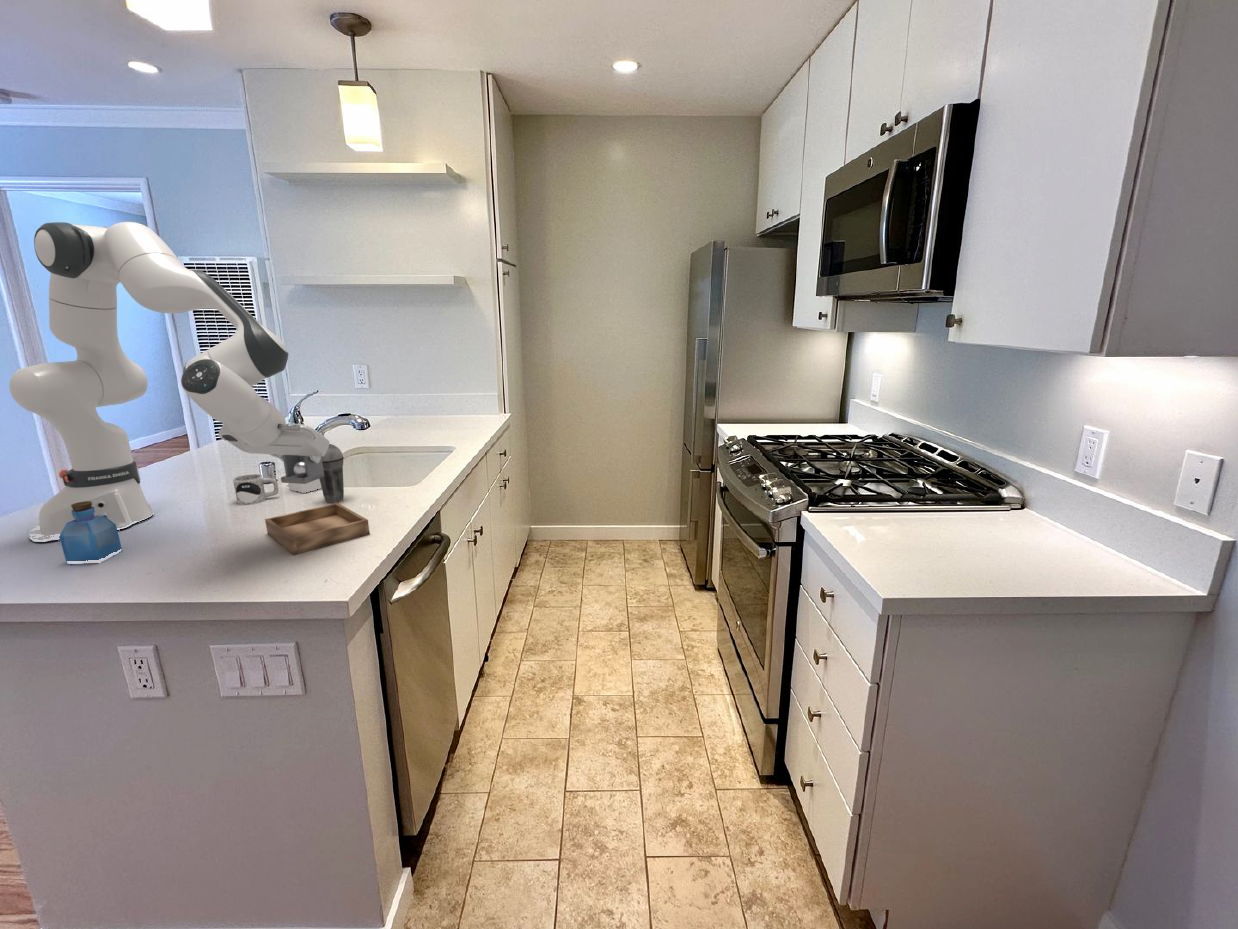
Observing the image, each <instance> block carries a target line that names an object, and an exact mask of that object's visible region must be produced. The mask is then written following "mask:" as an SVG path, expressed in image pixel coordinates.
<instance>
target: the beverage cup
mask: <svg viewBox="0 0 1238 929" xmlns="http://www.w3.org/2000/svg"><path fill="white" fill-rule="evenodd" d="M320 432H321V433H320V434H321V435H323V436H324V437H325V434H324V428H320ZM321 457H322V464H323V470H324V477H322V478H319V479H320V483H321V487H322V489H321V492H322V495H323V498H324V501H326V502H327V504H335V502H337V503H340V502H339V501H341V500H343V498H344V494H345V490H344V488H345V487H344V460H345V457H344V455H343V453H342V450H341V449H340V448H339V447H338V446H336V445H334V444H332V443H331V444H330V443H329V447H328V449H327V451H326V453H325V455H324V456H321ZM344 499H345V498H344ZM343 501H344V500H343ZM326 502H325V503H326ZM341 502H342V501H341Z"/></svg>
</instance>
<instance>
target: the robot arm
mask: <svg viewBox="0 0 1238 929" xmlns="http://www.w3.org/2000/svg"><path fill="white" fill-rule="evenodd" d="M33 247H34V251H35V255H36V258H37V260H38V261H39V263H40V264H41V266H42V267H43V268H45V269H46V270H47V272H49V274H50V276H49V285H48V313H49V314H48V318H49V320H48V321H49V322H48V323H49V330H50V332H51V334H52V335H53V336H54V338H56V339H57V340H59V341H60V342H62V343H64V344H65V345H68V346H70V347H72V348H75V352H76V360H71V361H57V362H56V361H55V362H42V363H37V364H34V365H29V366H27V367H22V368H19V369H17V370H15V371H14V372H13V374H12V375H11V377H10V379H9V384H8V385H9V386H8V387H9V392H10V395H11V397H12V398H13V400H14V401H15V402H16V403H17V404H18V405H19V406H20V407H22V408H23V409H24V410H26V411H28V412H31V413H33V414H35V415H38V416H40V417H41V418H43V419H44V420H45V421H47V422H48V423H50V424H51V425H52V426H53V427H54V428H55V430H56V431H57V432H58V433H59V435H60V436H61V439H62V440H63V443H64V445H65V448H66V450H67V454H68V457H69V460H70V463H71V469H70V470H68V469H61V470H60V471H59V472H58V476H59V478H60V479H62V481H63V485H64V486H65V487H63V488H62V489H61V490H60V491H59V492H57V493H56V494H54V495H53V496H52V497H51V498H49V500H47V501H46V502H45V503H43V505H42V506H41V507H40V510H39V513H38V525H39V526H40V530H34V531H30V530H29V531H30V532H28V535H29V534H41V535H44V536H42V537H39V538H33V537H35V536H36V535H35V536H32V538H33V539H38V540H43V539H49V538H51V537H52V536H51V537H50V535H55V534H61V532H62V531H63V529H64V527H65V525H66V523H67V522H70V521H72V520H75V517H74V516H72V512H71V511H72V510H73V508H72V507H71V505H72V504H74V503H78V502H84V501H91V502H92V507H94V509H95V513H94V516H101V515H104V516H105V517H106V518H108V519H109V520H110V521H112V522H113V523H114V524H116V527H117V528H122V527H125V526H127V525H129V524H130V523H132V522H134V521H140V520H142V519H145V518H147V517H149V516H151V515H153V512H154V511H153V509H152V507H151V506H150V505H149V503H148V501H147V499H146V496H145V494H144V492H143V489H142V487H141V484H140V483H141V476H140V475H141V474H140V471H139V466H138V465H137V462H136V461H135V460H134V459H133V458H134V457H133V454H132V450H131V444H130V442H129V437H128V433H127V432H126V431H125V429H124V428H122V427H121V426H119V425H116V424H114V423H110V422H106V421H104V420H103V419H102V418H101V417H100V416H99V413H98V411H97V408H99V407H100V408H102V407H108V406H114V405H115V406H116V405H121V404H124V403H125V404H126V403H128V402H131V401H134V400H136V399H139V398H142V397H143V396H144V395H145V394H146V392H147V390H148V386H149V383H148V377H147V375H146V372H145V371H144V369H143V368H142V367H141V366H140V365H139V364H137V363H136V362H134V361H132V360H131V359H130V358H129V357H128V356H127V355H126V354H125V351H123V348H122V345H121V343H120V340H119V334H118V295H117V293H118V292H117V287H118V284H120V283H121V284H122V286H123V288H124V289H125V291H126V292H127V293H128V294H129V295H130V296H131V298H132V299H133V300H134V301H135V302H136V303H137V304H138V305H140V306H141V307H144V308H145V309H147V310H150V311H154V312H157V313H160V314H161V313H162V314H183V313H187V312H190V311H197V310H205V309H206V310H207V309H213V310H217V311H218V312H219V313H220V314H221V315H222V316H223V317H224V318H225V319H226V320H227V321H228V322H229V323H230V324H231V325H232V326H233V327H234V328H235V329H236V330H235V333H233V334H232V335H231V336H230V337H228V338H226V339H225V340H223V341H221V342H220V343H218V344H216V345H214V346H212V347H211V348H209V349H207V350H205V351H203V352H201V353H199V354H197V355H196V356H194V357H192V358H190V360H188V361H186V362H185V363H184V367H183V371H182V374H181V379H180V383H181V385H180V386H181V388H182V389H183V391H184V392H185V393H186V394H187V396H188V397H189V398H190V399H191V400H192V401H193V402H194V403H195V404H196V406H198V407H199V408H200V409H201V410H203V411H204V412H205V413H206V414H207V415H208V416H210V417H211V418H212V419H214V420H215V421H217V422H220V423H222V426H221V428H220V430H219V432H218V435H217V436H218V438H220V439H222V440H223V441H226V442H227V441H228V443H230V444H231V445H232V446H234V447H235V448H237V449H238V450H240V451H242V452H244V453H248V454H259V455H269V456H272V457H275V458H276V459H279V460H280V461H281V462H283V463H284V461H283V455H299V456H310V457H309V458H308V460H309V461H310V462H311V463H319V461H320V459H321V456H324V455H325V453H326V451H327V449H328V447H329V444H330V441H329V439H328V438H327V437H325V435H324V436H323V435H322V433H320V432H319V431H317V430H316V429H314V428H313V427H311V426H310V425H307V424H303V423H294V424H292V423H287V422H286V421H287V420H286V417H285V415H284V414H283V413H282V412H281V411H280V410H279V409H277V408H276V407H275V406H274V405H273V404H272V403H270V401H268V399H267V398H265V397H262V396H260V395H259V394H258V393H257V391H256V390H255V389H254V386H255V385H257V384H259V383H260V382H262V381H264V380H266V379H267V378H271V377H272V376H275V375H278V374H280V373H282V372H284V371H285V369H286V366H287V364H288V359H289V351H288V350H287V348H286V346H285V344H284V342H283V341H282V340H281V339H280V338H279V337H278V336H277V335H276V334H275V333H273V332H272V331H270V330H269V329H268V328H266V327H265V326H264V325H262V324H261V323H260V322H259V321H258V319H256V318H255V317H254V316H253V315H252V314H251V313H250V312H249V311H248V310H247V309H246V308H245V307H244V306H243V305H242V304H241V303H240V302H239V301H238V300H237V299H236V298H235V297H234V296H233V295H232V294H231V293H229V291H228V290H226V289H225V288H224V286H222V285H221V284H220V283H219V282H218V281H217V280H216V279H214V278H213V277H212V276H211V275H209V274H208V273H206V272H204V271H203V270H191V269H188V268H187V267H185V266H184V265H183V263H182V262H181V261H180V260H179V258H178V257H177V255H176V254H175V253H174V251H173V250H172V249H171V248H170V247H169V246H168V245H167V243H166V242H165V241H164V240H163V239H162V238H161V237H160V236H159V235H158V234H157V233H156V232H155V231H153V230H152V229H151V228H150V227H148V226H146V225H144V224H141V223H138V222H135V221H122V222H121V221H120V222H117V223H114V224H113V225H111V226H109V227H108V226H95V225H85V224H72V223H69V222H66V221H65V222H61V221H60V222H58V221H57V222H55V221H54V222H46V223H43V224H42V225H40V226H39V227H38V228H37V230H35V234H34V238H33ZM153 516H154V515H153ZM34 527H35V528H36V526H34ZM47 536H48V537H47ZM30 537H31V536H30ZM43 537H44V538H43ZM53 537H54V536H53Z"/></svg>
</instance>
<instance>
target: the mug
mask: <svg viewBox="0 0 1238 929" xmlns="http://www.w3.org/2000/svg"><path fill="white" fill-rule="evenodd" d="M232 481H233V488H234V493H235V498H236V502H237V503H238V505H239V504H241V505H240V506H248V505H255V504H260V503H262V502H265V501H266V500H267V498H270V497H272V496H277V495H278V494H279V484H278V481H277V479H276V478H273V477H272V478H271V477H263V474H260V473H259V474H258V473H257V474H256V473H255V474H252V473H251V474H245V475H239V476H236V477H233V479H232ZM265 483H272V486H273V491H271V492H270V491H269V492H268V491H267V492H266V491H265V485H264V484H265Z"/></svg>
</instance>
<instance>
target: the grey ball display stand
mask: <svg viewBox="0 0 1238 929" xmlns="http://www.w3.org/2000/svg"><path fill="white" fill-rule="evenodd" d="M309 457H310V456H299V455H283V461H284V462H283V461H282V462H283V466H284V472H285V475H283V476H281V477H280V481H281V483H283V484H289V483H298V484H306V483H309V482H312V481H314V480H317V479H319V478H322V477H324V470H323V464H322V457H321V459H320V461H319V463H311V462H310V461H309V460H308V458H309ZM301 461H304V462H305V467H306V473H307V476H306V477H299V476H297V475H296V474H295V473H294V471H293V468H294V465H295V464H296V463H298V462H301Z"/></svg>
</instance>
